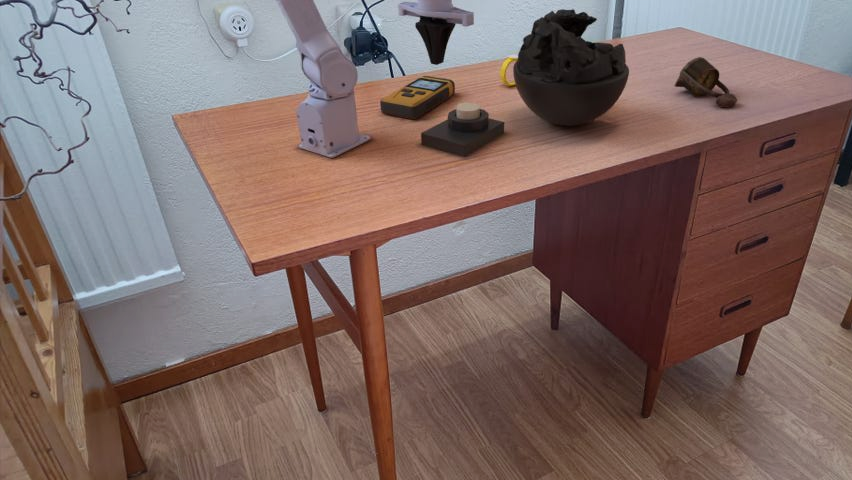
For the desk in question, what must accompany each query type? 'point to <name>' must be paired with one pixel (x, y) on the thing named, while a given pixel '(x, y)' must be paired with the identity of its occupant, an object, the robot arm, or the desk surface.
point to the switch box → (462, 134)
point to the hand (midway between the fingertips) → (437, 63)
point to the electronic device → (417, 97)
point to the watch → (504, 67)
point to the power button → (468, 111)
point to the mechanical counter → (704, 81)
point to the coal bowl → (568, 70)
